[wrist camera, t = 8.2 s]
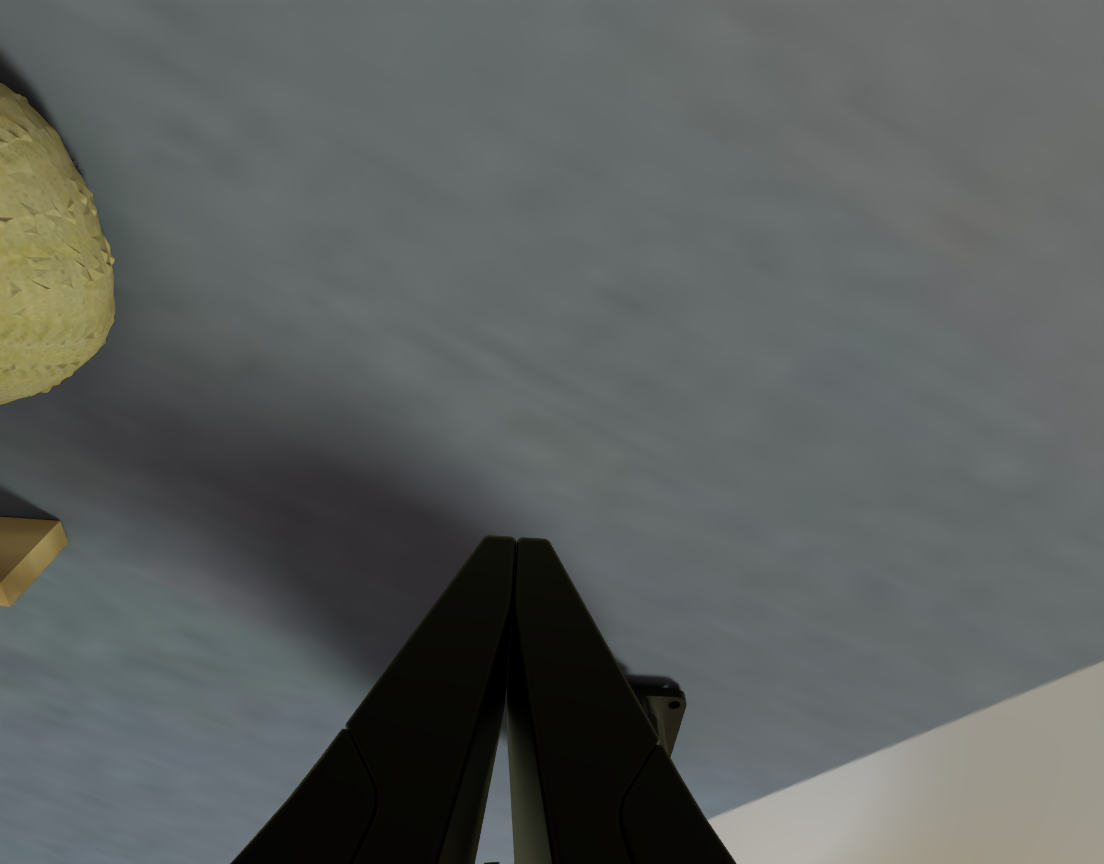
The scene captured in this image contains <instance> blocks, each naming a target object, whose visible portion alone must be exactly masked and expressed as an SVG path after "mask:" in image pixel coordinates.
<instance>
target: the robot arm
mask: <svg viewBox="0 0 1104 864" xmlns="http://www.w3.org/2000/svg"><path fill="white" fill-rule="evenodd" d="M515 557H516V561H515ZM514 572H515V575H514ZM513 588H514V590H513ZM512 602H513V604H512ZM511 617H512V619H511ZM510 631H511V634H510ZM509 645H510V649H509ZM508 659H509V664H508ZM507 673H508V678H507ZM506 687H507V698H506V715H507V737H508V755H509V773H510V791H511V809H512V826H513V844H514V862H515V864H736V862H735V861H734V859H733V858H732V856H731V855H730V853H729V852H728V850H727V849H726V847H725V846H724V845H723V843H722V842H721V840H720V839H719V837H718V836H717V834H716V833H715V831H714V830H713V828H712V827H711V825H710V824H709V822H708V821H707V819H706V818H705V816H704V815H703V813H702V811H701V809H700V808H699V806H698V804H697V803H696V801H695V799H694V798H693V796H692V794H691V793H690V791H689V789H688V788H687V786H686V784H685V783H684V781H683V779H682V778H681V776H680V774H679V773H678V771H677V769H676V767H675V765H674V764H673V762H672V760H671V758H670V757H671V754H672V750H673V747H674V744H675V741H676V738H677V734H678V731H679V728H680V725H681V721H682V718H683V715H684V712H685V708H686V699H685V694H684V693H683V691H681V690H678V689H668V688H651V687H634V686H630V685H629V683H628V681H627V680H626V678H625V676H624V674H623V672H622V671H621V669H620V667H619V665H618V663H617V662H616V660H615V658H614V656H613V654H612V653H611V651H610V649H609V647H608V645H607V644H606V642H605V640H604V638H603V636H602V635H601V633H600V631H599V629H598V628H597V626H596V624H595V622H594V620H593V619H592V617H591V615H590V613H589V611H588V610H587V608H586V606H585V604H584V602H583V601H582V599H581V597H580V595H579V593H578V592H577V590H576V588H575V586H574V584H573V583H572V581H571V579H570V577H569V575H568V574H567V572H566V570H565V568H564V566H563V565H562V563H561V561H560V559H559V557H558V556H557V554H556V552H555V550H554V548H553V547H552V545H551V543H550V542H549V541H548V540H547V539H541V538H525V537H522V538H519V539H518V541H517V547H516V540H515V538H514V537H509V536H493V535H488V536H486V537H484V538H483V540H482V541H481V542H480V543H479V545H478V546H477V547H476V549H475V550H474V552H473V553H472V554H471V556H470V557H469V558H468V560H467V561H466V562H465V564H464V565H463V566H462V568H461V569H460V570H459V572H458V573H457V574H456V576H455V577H454V579H453V580H452V581H451V583H450V584H449V585H448V587H447V588H446V589H445V591H444V592H443V593H442V595H441V596H440V597H439V599H438V600H437V601H436V603H435V604H434V606H433V607H432V608H431V610H430V611H429V612H428V614H427V615H426V616H425V618H424V619H423V620H422V622H421V623H420V624H419V626H418V627H417V628H416V630H415V631H414V633H413V634H412V635H411V637H410V638H409V639H408V641H407V642H406V643H405V645H404V646H403V647H402V649H401V650H400V651H399V653H398V654H397V655H396V657H395V658H394V660H393V661H392V662H391V664H390V665H389V666H388V668H387V669H386V670H385V672H384V673H383V674H382V676H381V677H380V678H379V680H378V681H377V682H376V684H375V685H374V687H373V688H372V689H371V691H370V692H369V693H368V695H367V696H366V697H365V699H364V700H363V701H362V703H361V704H360V705H359V707H358V708H357V709H356V711H355V712H354V714H353V715H352V716H351V718H350V719H349V720H348V722H347V723H346V729H342V730H341V731H340V732H339V733H338V735H337V736H336V737H335V739H334V740H333V741H332V743H331V744H330V745H329V747H328V748H327V749H326V751H325V752H324V754H323V755H322V756H321V758H320V759H319V760H318V761H317V763H316V764H315V765H314V766H313V768H312V769H311V770H310V772H309V773H308V774H307V775H306V777H305V778H304V779H303V780H302V782H301V783H300V784H299V786H298V787H297V788H296V789H295V791H294V792H293V793H292V794H291V796H290V797H289V798H288V799H287V801H286V802H285V803H284V804H283V805H282V806H281V807H280V808H279V810H278V811H277V812H276V813H275V814H274V815H273V816H272V818H271V819H270V820H269V821H268V822H267V823H266V824H265V826H264V827H263V828H262V829H261V830H260V831H259V832H258V834H257V835H256V836H255V837H254V838H253V839H252V840H251V841H250V843H249V844H248V845H247V846H246V847H245V848H244V849H243V850H242V851H241V852H240V854H239V855H238V856H237V857H236V858H235V859H234V860H233V861H232V862H231V863H230V864H475V859H476V854H477V849H478V844H479V839H480V834H481V828H482V823H483V818H484V813H485V808H486V802H487V797H488V792H489V787H490V782H491V777H492V771H493V766H494V761H495V756H496V751H497V745H498V740H499V735H500V730H501V725H502V719H503V713H504V706H505V697H506ZM484 864H500V863H499V862H488V863H484Z"/></svg>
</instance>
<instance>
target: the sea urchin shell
mask: <svg viewBox="0 0 1104 864" xmlns="http://www.w3.org/2000/svg"><path fill="white" fill-rule="evenodd" d="M114 261H115V259H114V257H113V256H112V254H111V252H110V245H109V244H108V242H107V240H106V239H105V237H104V235H103V232H102V229H101V226H100V222H99V217H98V213H97V210H96V207H95V205H94V202H93V192H91V191H89V190H88V188H87V186H86V184H85V182H84V180H83V178H82V177H81V175H80V174H79V172H78V171H77V169H76V168H75V166H74V164H73V162H72V160H71V158H70V156H69V154H68V152H67V150H66V148H65V147H64V145H63V143H62V140H61V138H60V136H59V134H58V133H57V132H56V131H55V130H54V129H53V128H52V127H51V126H50V125H49V124H48V123H47V122H46V121H45V120H44V119H43V118H42V116H41V115H40V114H39V113H38V112H37V111H36V110H35V109H34V108H32V107H31V106H30V105H29V103H28V101H27V98H26V97H23V96H21V95H20V94H16V93H14V92H13V91H12V90H10V89H9V88H8V87H7V86H5V85H4V84H2V83H0V405H1V404H5V403H8V402H11V401H14V400H17V399H20V398H24V397H28V396H30V397H31V396H33V395H35V394H37V393H39V392H42V393H48V392H49V390H50V389H51V388H52V387H53V386H55V385H60V383H61V381H62V380H63V379H65V378H67V377H70V376H72V375H73V373H74V371H76V370H77V369H78V368H79V367H81V366H82V365H83V364H84V363H85V362H87V361H88V360H89V359H90V358H91V357H93V356H94V355H95V354H96V353H97V351H98V350H99V349H100V348H101V346H102V345H104V344H105V343H106V337H107V335H108V332H109V330H110V328H111V326H112V324H113V323H114V317H113V316H114V315H115V301H114V295H113V290H114V275H113V270H112V269H113V268H112V264H113V263H114Z"/></svg>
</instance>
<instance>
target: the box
mask: <svg viewBox="0 0 1104 864" xmlns="http://www.w3.org/2000/svg"><path fill="white" fill-rule="evenodd" d="M67 544H68V540H67V538H66V535H65V532H64V530H63V527H62V525H61V522H60V521H56V520H41V519H26V518H11V517H0V606H12V604H13V603H14V602H15V601H16V600H17V599H18V598H19V597H20V596H21V595H22V593H23V592H24V591H25V590H26V589H27V588H28V587H29V586H30V585H31V583H32V582H33V581H34V580H35V579H36V578H37V577H38V576H39V575H40V574H41V572H42V571H43V570H44V569H45V568H46V567H47V566H48V565H49V564H50V563H51V561H52V560H53V559H54V558H55V557H56V556H57V555H58V554H59V553H60V551H61V550H62V549H63V548H64V547H65V546H66V545H67Z"/></svg>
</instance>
